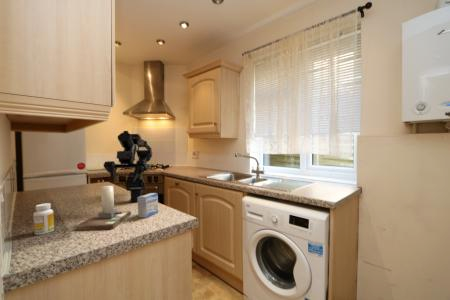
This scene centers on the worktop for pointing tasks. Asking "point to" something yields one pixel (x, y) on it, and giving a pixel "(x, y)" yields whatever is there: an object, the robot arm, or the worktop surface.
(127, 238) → the worktop surface
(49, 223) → the supplement bottle
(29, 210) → the worktop surface
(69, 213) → the worktop surface
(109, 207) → the white tall cylinder
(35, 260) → the worktop surface
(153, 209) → the medicine box
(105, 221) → the base
